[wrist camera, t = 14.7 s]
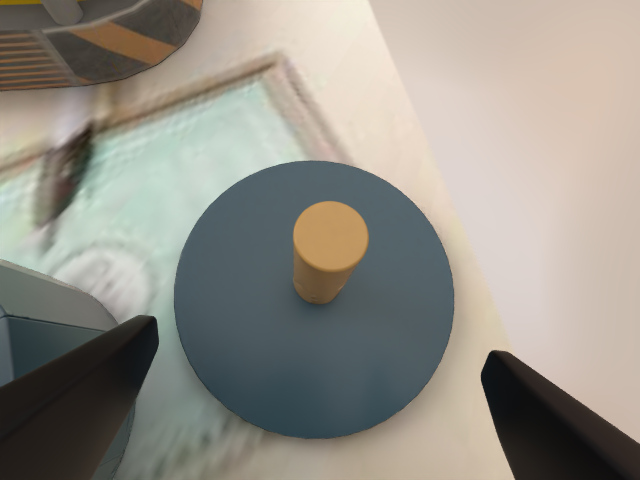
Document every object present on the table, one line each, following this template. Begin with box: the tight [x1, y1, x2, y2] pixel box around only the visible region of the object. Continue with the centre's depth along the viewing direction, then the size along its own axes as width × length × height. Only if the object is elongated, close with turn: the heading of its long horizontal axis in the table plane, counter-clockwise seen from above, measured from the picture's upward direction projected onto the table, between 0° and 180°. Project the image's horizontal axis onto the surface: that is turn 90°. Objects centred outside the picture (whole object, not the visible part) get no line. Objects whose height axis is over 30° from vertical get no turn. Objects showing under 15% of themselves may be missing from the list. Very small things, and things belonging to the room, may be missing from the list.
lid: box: [174, 161, 454, 439], centre depth 14 cm, size 13×13×7 cm
